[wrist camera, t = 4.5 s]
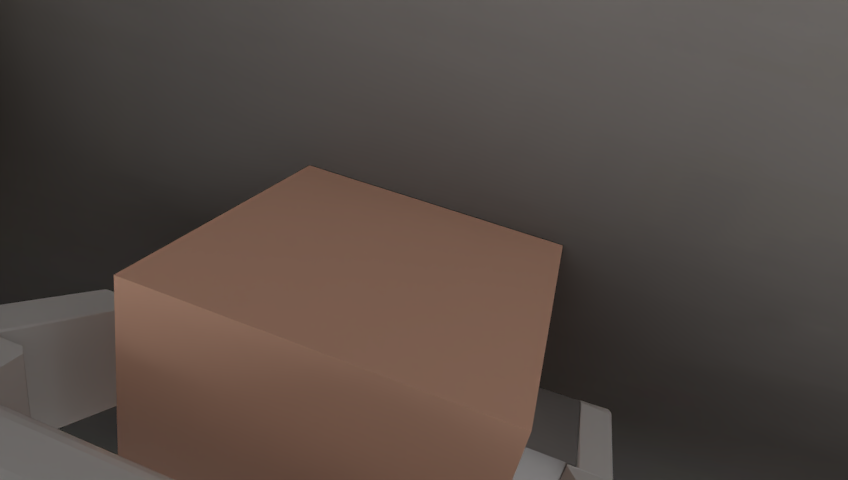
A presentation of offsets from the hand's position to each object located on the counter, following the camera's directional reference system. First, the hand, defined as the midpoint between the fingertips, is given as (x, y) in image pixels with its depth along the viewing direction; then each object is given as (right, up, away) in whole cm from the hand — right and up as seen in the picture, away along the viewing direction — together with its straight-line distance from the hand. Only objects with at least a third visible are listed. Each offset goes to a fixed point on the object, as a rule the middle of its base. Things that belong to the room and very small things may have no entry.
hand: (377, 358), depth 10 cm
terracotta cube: (0, +1, +2) cm, 2 cm away
